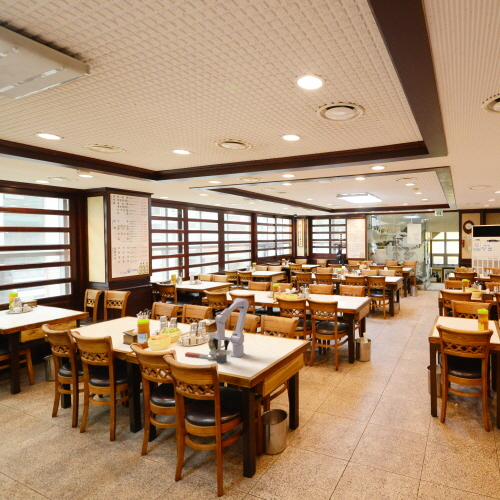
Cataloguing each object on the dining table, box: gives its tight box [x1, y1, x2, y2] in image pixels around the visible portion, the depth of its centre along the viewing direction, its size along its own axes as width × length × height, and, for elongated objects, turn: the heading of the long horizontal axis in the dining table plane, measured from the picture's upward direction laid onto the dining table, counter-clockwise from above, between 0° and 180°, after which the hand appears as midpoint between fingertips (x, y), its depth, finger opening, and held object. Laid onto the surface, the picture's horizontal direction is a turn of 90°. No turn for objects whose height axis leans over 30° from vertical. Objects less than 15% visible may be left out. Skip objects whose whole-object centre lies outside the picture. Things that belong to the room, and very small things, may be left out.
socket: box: [215, 353, 228, 364], centre depth 253 cm, size 6×6×5 cm
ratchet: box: [184, 350, 218, 361], centre depth 264 cm, size 27×8×6 cm, turn 67°
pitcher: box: [205, 331, 225, 352], centre depth 281 cm, size 11×18×14 cm, turn 66°
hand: (221, 349), depth 253 cm, fingers open, 7 cm apart
